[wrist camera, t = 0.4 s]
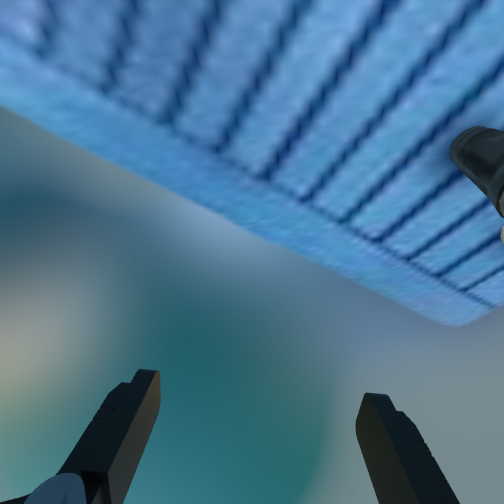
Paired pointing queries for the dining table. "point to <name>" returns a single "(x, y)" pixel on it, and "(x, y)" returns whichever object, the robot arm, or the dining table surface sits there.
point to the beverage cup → (482, 161)
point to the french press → (502, 235)
